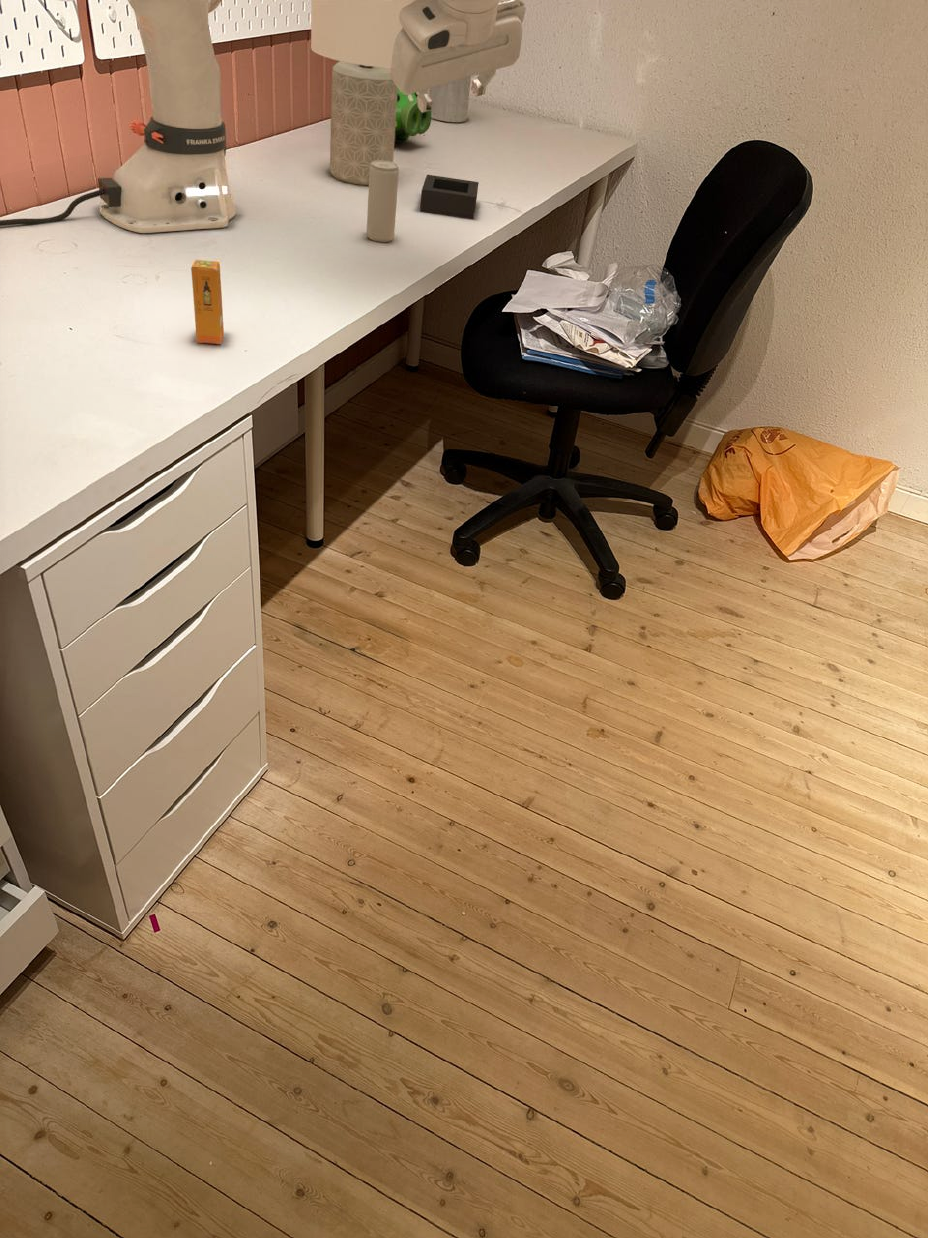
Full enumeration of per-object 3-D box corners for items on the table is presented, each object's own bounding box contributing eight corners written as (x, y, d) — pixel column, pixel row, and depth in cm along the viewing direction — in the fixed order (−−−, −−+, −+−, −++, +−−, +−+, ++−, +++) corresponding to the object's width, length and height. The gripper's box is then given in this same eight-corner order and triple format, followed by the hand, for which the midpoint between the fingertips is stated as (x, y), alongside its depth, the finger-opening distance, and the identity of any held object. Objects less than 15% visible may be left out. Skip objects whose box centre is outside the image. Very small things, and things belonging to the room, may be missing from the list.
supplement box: (225, 334, 124) (221, 260, 118) (221, 345, 122) (217, 269, 115) (200, 332, 124) (195, 257, 118) (195, 343, 121) (190, 267, 115)
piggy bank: (398, 154, 203) (404, 77, 193) (333, 134, 209) (335, 58, 199) (434, 145, 213) (440, 71, 203) (370, 126, 219) (374, 53, 209)
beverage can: (389, 244, 159) (395, 170, 151) (362, 239, 159) (366, 164, 151) (396, 236, 162) (402, 163, 155) (370, 231, 163) (374, 157, 155)
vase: (470, 124, 232) (484, -4, 215) (431, 121, 230) (442, -9, 212) (461, 114, 240) (475, -11, 222) (424, 111, 237) (434, -15, 220)
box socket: (473, 218, 175) (475, 196, 172) (419, 211, 175) (421, 188, 172) (476, 203, 183) (478, 181, 180) (425, 195, 182) (426, 174, 180)
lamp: (400, 198, 179) (419, -66, 152) (296, 180, 180) (297, -86, 153) (420, 171, 195) (440, -72, 168) (325, 155, 196) (330, -90, 169)
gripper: (515, -20, 131) (498, 69, 143) (389, 12, 124) (382, 103, 137) (539, 9, 129) (519, 97, 142) (411, 44, 123) (403, 132, 135)
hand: (451, 100), depth 139 cm, fingers open, 8 cm apart
